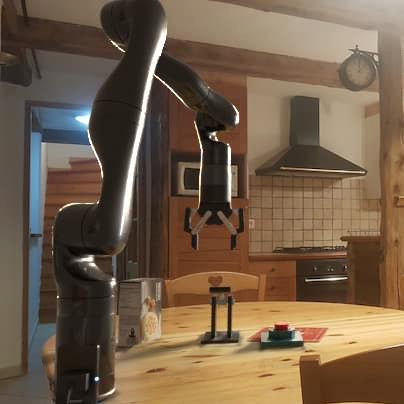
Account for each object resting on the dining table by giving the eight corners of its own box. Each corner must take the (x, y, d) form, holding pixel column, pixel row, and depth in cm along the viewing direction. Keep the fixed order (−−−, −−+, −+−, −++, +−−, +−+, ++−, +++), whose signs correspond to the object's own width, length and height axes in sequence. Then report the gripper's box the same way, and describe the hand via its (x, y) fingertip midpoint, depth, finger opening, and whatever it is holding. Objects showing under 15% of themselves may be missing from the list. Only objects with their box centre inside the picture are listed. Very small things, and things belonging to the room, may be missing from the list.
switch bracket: (238, 345, 129) (239, 297, 130) (200, 347, 127) (201, 298, 128) (240, 336, 141) (240, 292, 141) (205, 337, 139) (206, 292, 140)
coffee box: (139, 338, 136) (141, 277, 137) (161, 340, 135) (163, 277, 136) (116, 346, 127) (118, 280, 128) (140, 347, 126) (141, 281, 127)
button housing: (303, 349, 125) (303, 332, 125) (261, 351, 123) (261, 334, 123) (299, 339, 137) (299, 324, 137) (260, 340, 135) (261, 325, 135)
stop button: (289, 331, 129) (289, 324, 129) (274, 332, 128) (274, 324, 128) (288, 328, 132) (288, 321, 132) (274, 329, 132) (274, 322, 132)
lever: (230, 293, 125) (230, 283, 126) (208, 293, 124) (209, 284, 125) (232, 308, 136) (232, 299, 137) (212, 308, 135) (212, 299, 136)
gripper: (183, 182, 123) (181, 251, 122) (245, 183, 126) (243, 250, 125) (187, 184, 130) (185, 249, 129) (245, 186, 133) (244, 249, 132)
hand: (214, 250), depth 127 cm, fingers open, 8 cm apart
